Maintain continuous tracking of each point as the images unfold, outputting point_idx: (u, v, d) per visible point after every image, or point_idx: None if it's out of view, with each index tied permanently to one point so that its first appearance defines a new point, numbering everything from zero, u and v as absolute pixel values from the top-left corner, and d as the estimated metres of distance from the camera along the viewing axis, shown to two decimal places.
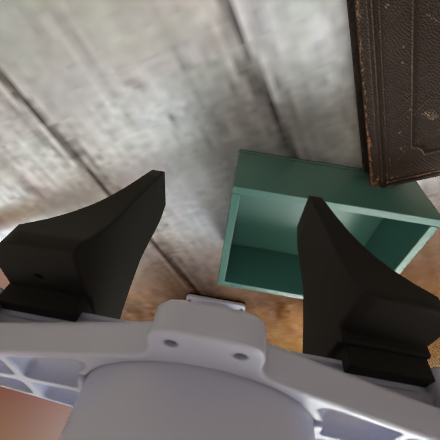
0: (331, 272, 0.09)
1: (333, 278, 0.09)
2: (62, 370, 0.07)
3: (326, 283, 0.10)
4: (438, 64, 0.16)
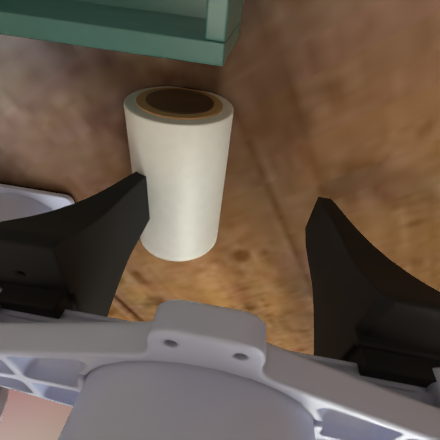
0: (344, 274, 0.09)
1: (347, 280, 0.09)
2: (62, 369, 0.07)
3: (339, 285, 0.10)
4: None
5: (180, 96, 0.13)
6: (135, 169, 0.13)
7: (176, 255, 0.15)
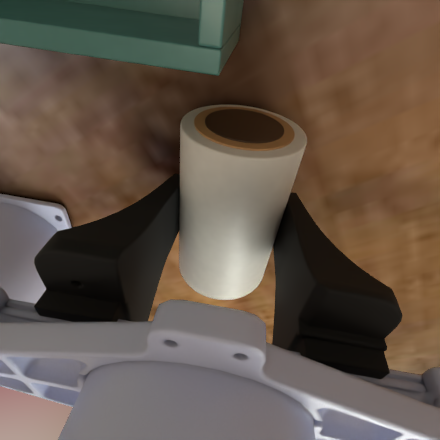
0: (296, 266, 0.09)
1: (297, 272, 0.09)
2: (61, 370, 0.07)
3: (292, 277, 0.10)
4: None
5: (249, 120, 0.11)
6: (180, 187, 0.12)
7: (203, 289, 0.14)
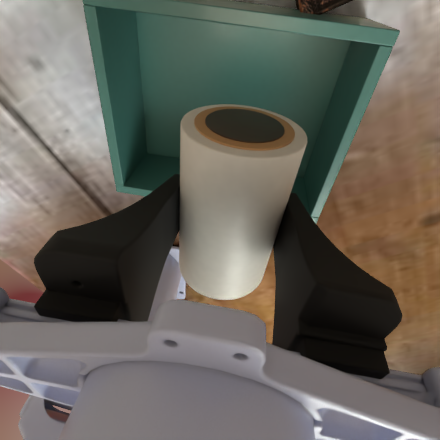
0: (295, 266, 0.09)
1: (296, 272, 0.09)
2: (62, 369, 0.07)
3: (291, 277, 0.10)
4: None
5: (249, 119, 0.11)
6: (180, 187, 0.12)
7: (203, 289, 0.14)
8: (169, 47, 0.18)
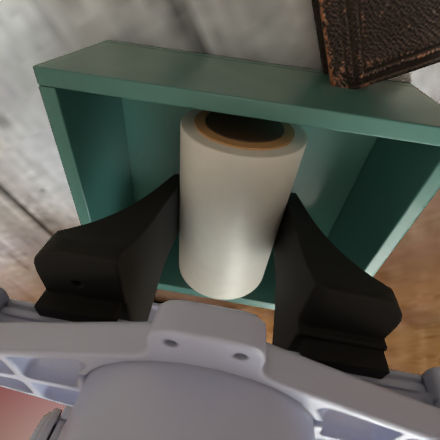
0: (296, 266, 0.09)
1: (297, 272, 0.09)
2: (61, 369, 0.07)
3: (292, 277, 0.10)
4: None
5: (249, 119, 0.11)
6: (180, 187, 0.12)
7: (203, 289, 0.14)
8: (160, 110, 0.14)
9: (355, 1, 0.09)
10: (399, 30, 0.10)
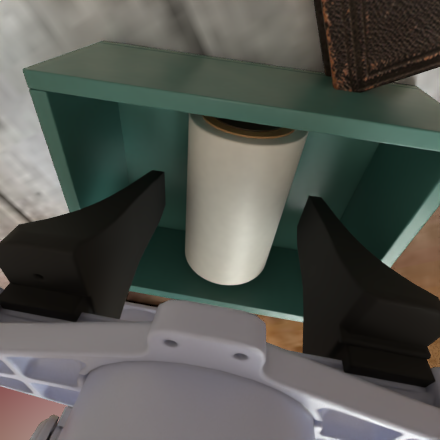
0: (331, 272, 0.09)
1: (333, 278, 0.09)
2: (62, 370, 0.07)
3: (326, 283, 0.10)
4: None
5: None
6: (187, 177, 0.12)
7: (210, 275, 0.14)
8: (158, 113, 0.14)
9: (359, 1, 0.09)
10: (405, 31, 0.09)
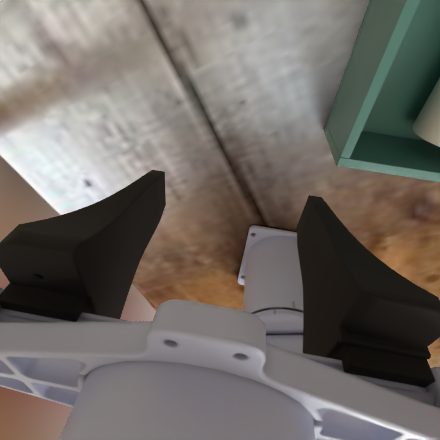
0: (331, 272, 0.09)
1: (333, 278, 0.09)
2: (62, 369, 0.07)
3: (326, 283, 0.10)
4: None
5: None
6: None
7: None
8: None
9: None
10: None
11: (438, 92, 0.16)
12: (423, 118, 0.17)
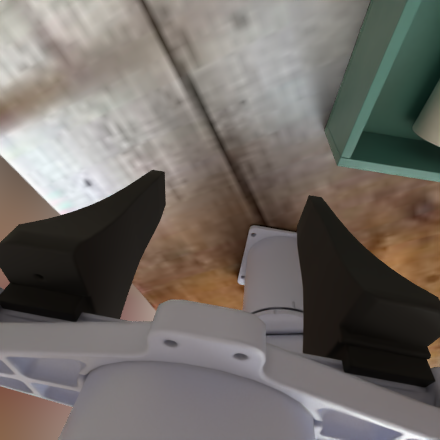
0: (331, 272, 0.09)
1: (333, 278, 0.09)
2: (61, 370, 0.07)
3: (326, 283, 0.10)
4: None
5: None
6: None
7: None
8: None
9: None
10: None
11: (439, 92, 0.16)
12: (424, 118, 0.17)
